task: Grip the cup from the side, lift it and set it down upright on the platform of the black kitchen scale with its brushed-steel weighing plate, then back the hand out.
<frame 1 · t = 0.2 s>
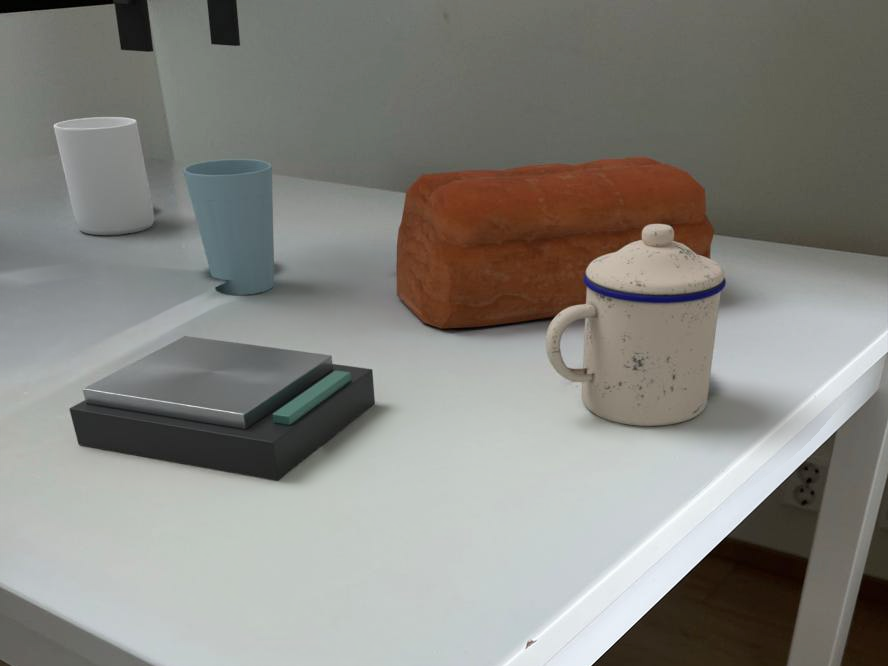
hand: (184, 48, 90), 19 cm above the table, tool pointing down, fingers open, 13 cm apart
mug: (118, 225, 115), on the table
scale: (232, 423, 67), on the table
bread: (551, 298, 91), on the table
teacup with lid: (624, 409, 69), on the table
cup: (245, 289, 94), on the table
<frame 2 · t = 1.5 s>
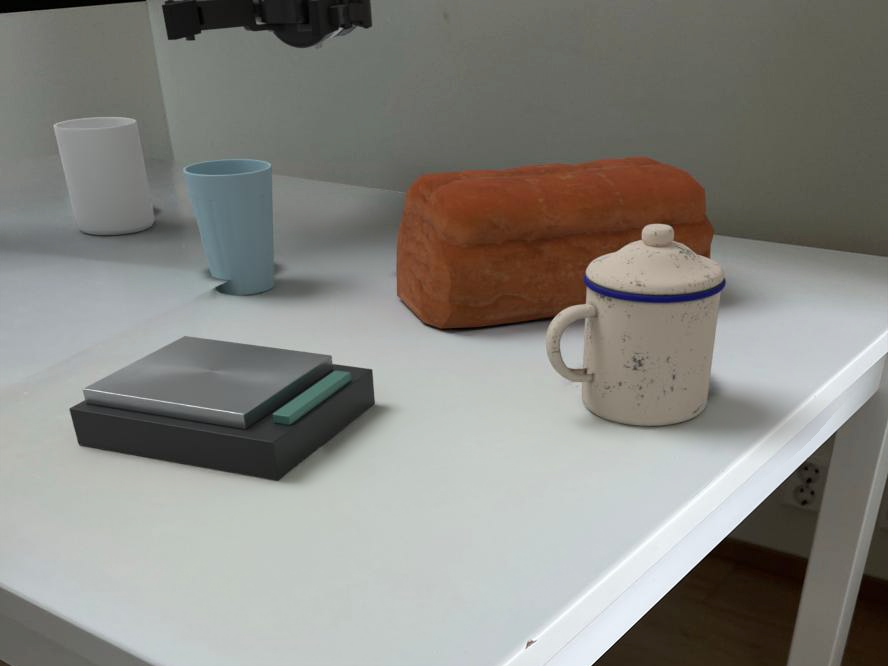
hand: (240, 20, 89), 21 cm above the table, tool horizontal, fingers open, 13 cm apart
nothing on the table moved.
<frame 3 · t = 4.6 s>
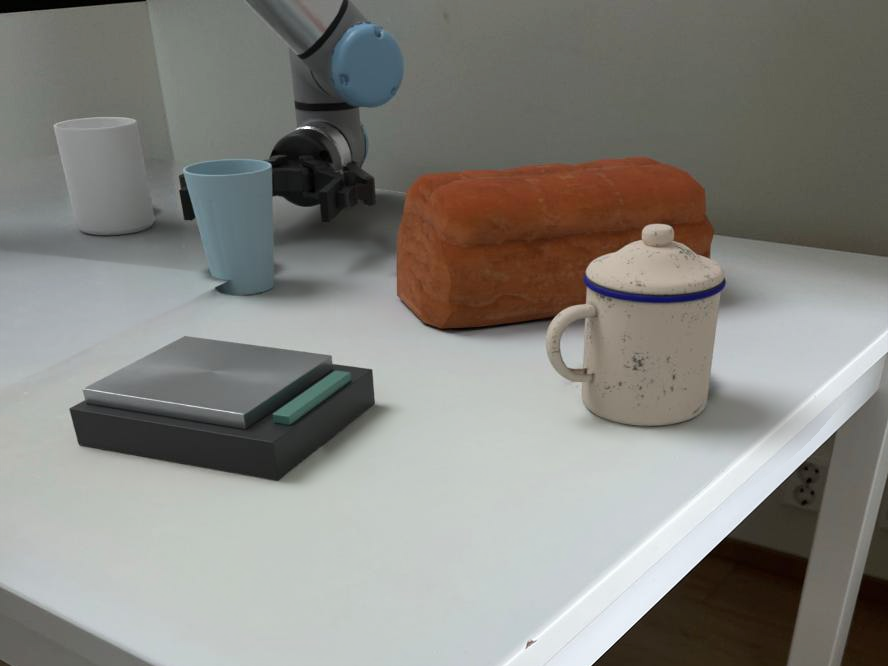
hand: (254, 206, 95), 6 cm above the table, tool horizontal, fingers open, 13 cm apart
nothing on the table moved.
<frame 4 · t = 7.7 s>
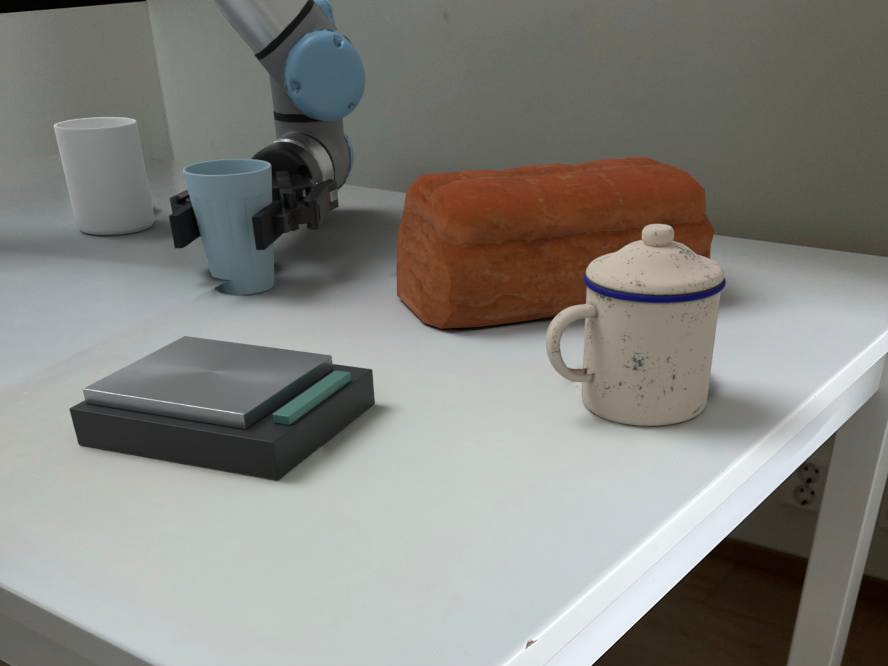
hand: (217, 232, 86), 6 cm above the table, tool horizontal, fingers closed on cup, 7 cm apart
cup: (245, 289, 94), on the table, touching gripper
everything else where it was.
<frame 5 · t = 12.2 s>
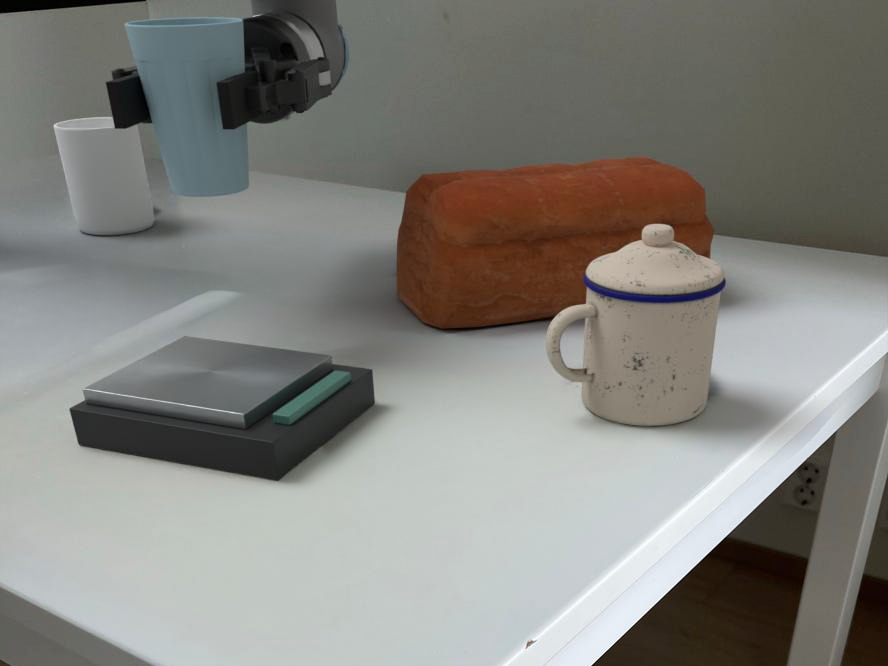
hand: (170, 105, 65), 18 cm above the table, tool horizontal, fingers closed on cup, 7 cm apart
cup: (211, 192, 72), point 12 cm above the table, touching gripper
everything else where it was.
when the fingers open (9 cm above the table, at t = 16.7 s): cup stays where it is, resting on scale.
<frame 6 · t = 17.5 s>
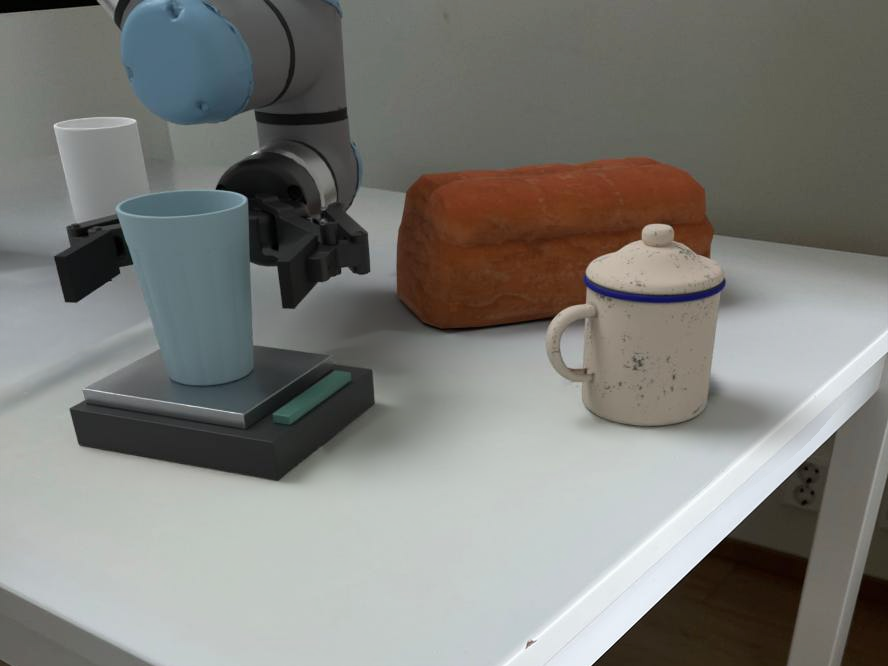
hand: (173, 282, 59), 10 cm above the table, tool horizontal, fingers open, 13 cm apart
cup: (211, 374, 66), point 3 cm above the table, touching scale
everything else where it was.
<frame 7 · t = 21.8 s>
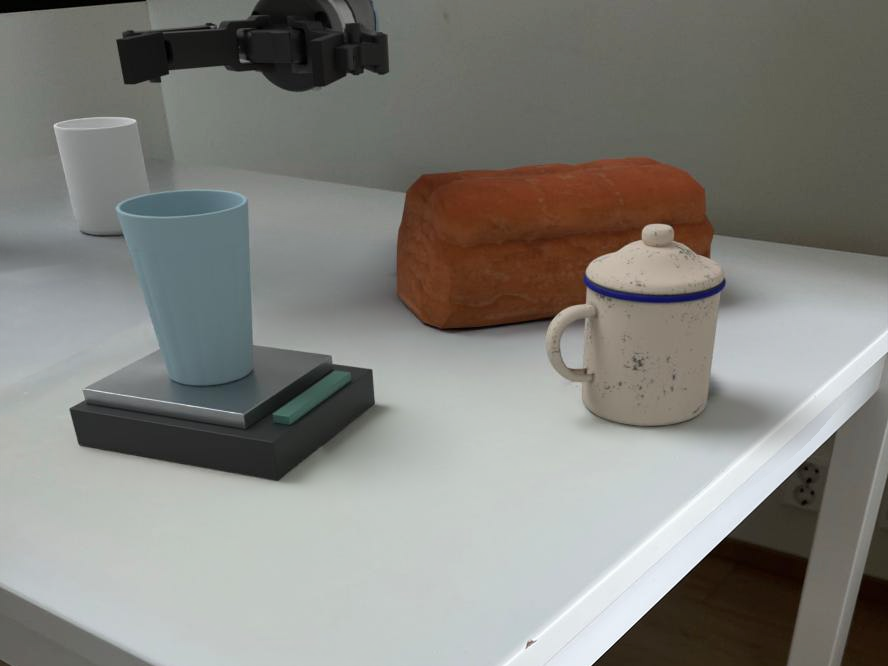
hand: (220, 63, 68), 20 cm above the table, tool horizontal, fingers open, 13 cm apart
nothing on the table moved.
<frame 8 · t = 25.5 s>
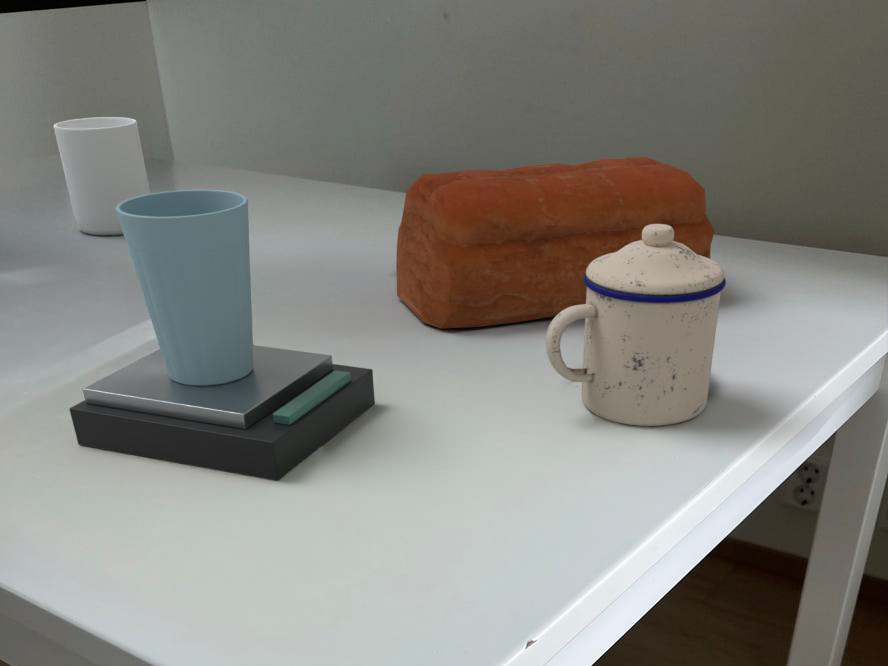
nothing on the table moved.
at the end: cup inside the target area on the scale (0.0 cm from its centre), point 3.3 cm above the scale's base; cup tilted 0°; the gripper is holding nothing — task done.
